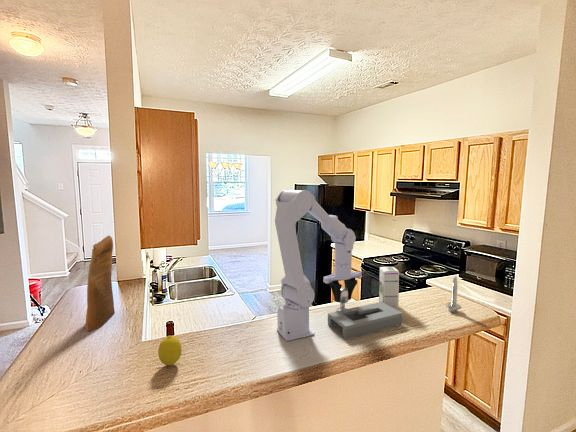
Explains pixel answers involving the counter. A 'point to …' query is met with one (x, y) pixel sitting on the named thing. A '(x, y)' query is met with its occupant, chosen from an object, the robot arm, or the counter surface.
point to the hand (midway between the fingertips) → (342, 300)
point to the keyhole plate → (365, 319)
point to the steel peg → (343, 298)
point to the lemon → (169, 350)
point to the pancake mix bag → (100, 285)
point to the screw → (454, 298)
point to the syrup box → (389, 286)
